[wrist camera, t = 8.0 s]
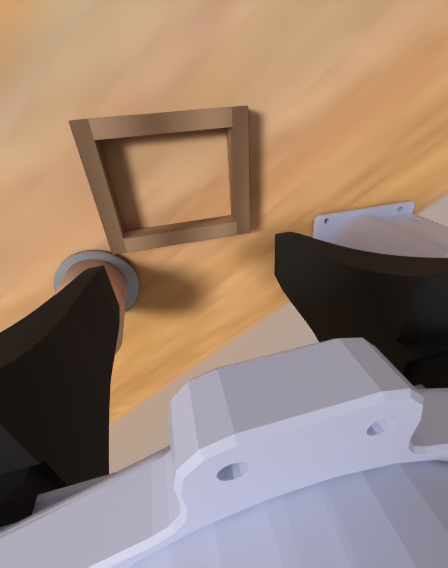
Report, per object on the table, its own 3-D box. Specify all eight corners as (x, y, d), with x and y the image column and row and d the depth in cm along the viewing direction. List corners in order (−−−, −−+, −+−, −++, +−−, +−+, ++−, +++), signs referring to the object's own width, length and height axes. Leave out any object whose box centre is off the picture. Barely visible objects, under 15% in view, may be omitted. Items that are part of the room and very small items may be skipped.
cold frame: (240, 106, 17) (248, 105, 16) (244, 225, 22) (250, 232, 21) (74, 120, 16) (68, 120, 15) (114, 246, 20) (112, 254, 19)
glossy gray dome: (128, 243, 20) (128, 246, 20) (146, 307, 24) (146, 310, 23) (41, 257, 19) (39, 260, 19) (73, 321, 23) (71, 325, 22)
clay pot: (121, 256, 20) (114, 304, 15) (131, 305, 23) (128, 360, 18) (54, 262, 19) (23, 315, 14) (72, 312, 22) (51, 372, 17)
